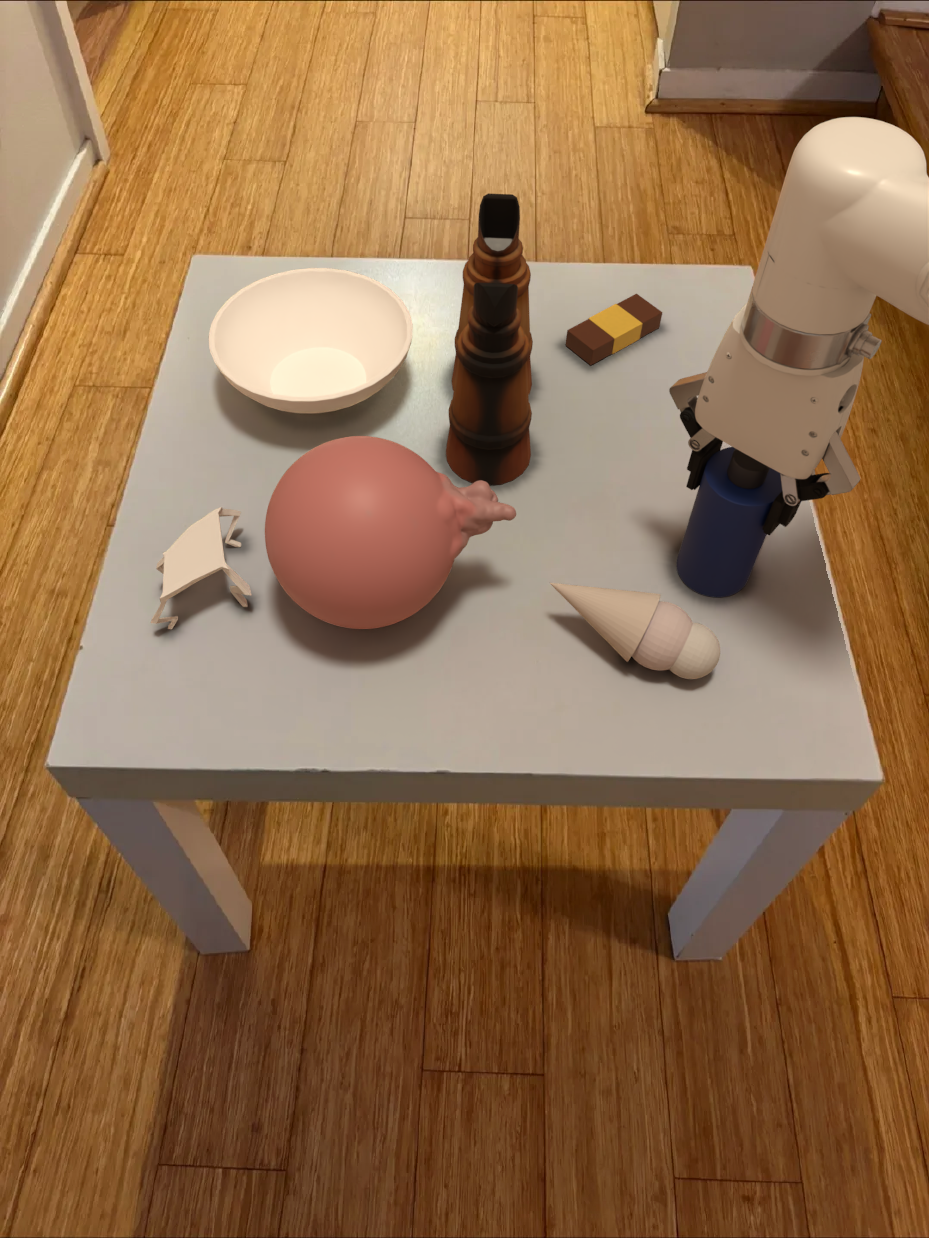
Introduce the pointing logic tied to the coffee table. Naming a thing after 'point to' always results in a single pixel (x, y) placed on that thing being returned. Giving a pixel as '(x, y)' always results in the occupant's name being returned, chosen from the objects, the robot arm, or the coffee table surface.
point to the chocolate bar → (613, 329)
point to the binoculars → (493, 353)
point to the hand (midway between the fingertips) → (736, 500)
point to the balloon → (370, 530)
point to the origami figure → (198, 560)
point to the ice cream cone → (646, 629)
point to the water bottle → (727, 523)
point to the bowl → (311, 339)
